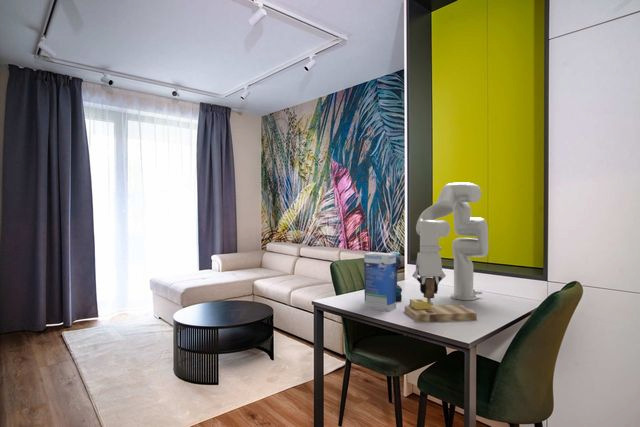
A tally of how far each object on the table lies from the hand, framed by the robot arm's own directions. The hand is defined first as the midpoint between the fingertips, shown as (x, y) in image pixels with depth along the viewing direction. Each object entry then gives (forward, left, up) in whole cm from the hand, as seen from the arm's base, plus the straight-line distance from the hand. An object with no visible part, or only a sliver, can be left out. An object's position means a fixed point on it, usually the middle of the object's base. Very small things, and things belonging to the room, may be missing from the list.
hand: (428, 292), depth 151 cm
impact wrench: (+4, -34, -11) cm, 36 cm away
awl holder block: (-4, -18, -11) cm, 22 cm away
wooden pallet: (-6, -3, -11) cm, 13 cm away
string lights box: (+16, -18, -11) cm, 27 cm away
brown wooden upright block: (0, 0, -4) cm, 4 cm away
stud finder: (+1, -7, -8) cm, 10 cm away
